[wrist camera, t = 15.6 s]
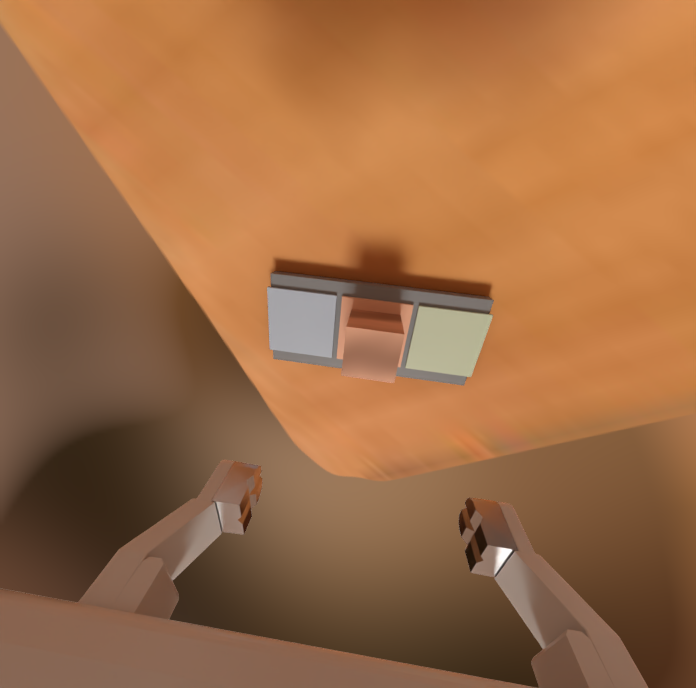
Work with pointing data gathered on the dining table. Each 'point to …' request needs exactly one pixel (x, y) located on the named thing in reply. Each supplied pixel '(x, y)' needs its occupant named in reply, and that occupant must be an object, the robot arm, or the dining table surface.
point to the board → (411, 303)
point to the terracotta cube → (372, 345)
